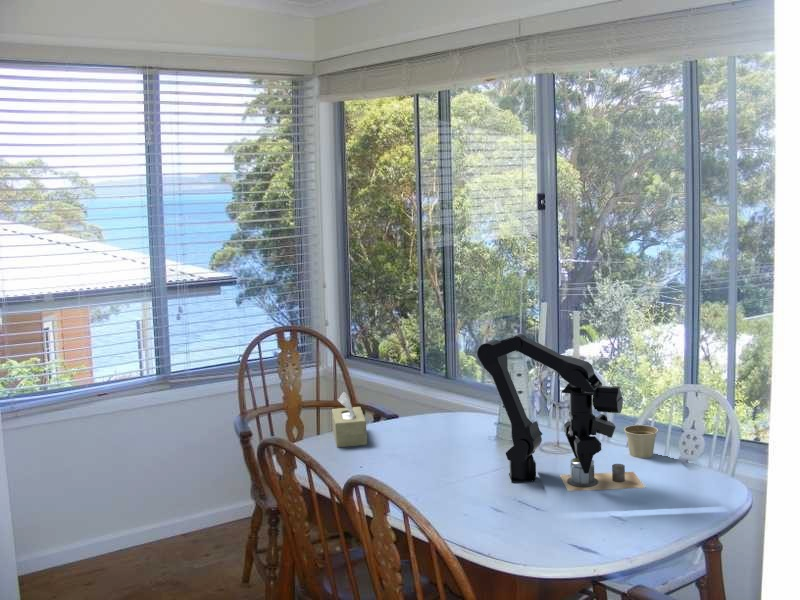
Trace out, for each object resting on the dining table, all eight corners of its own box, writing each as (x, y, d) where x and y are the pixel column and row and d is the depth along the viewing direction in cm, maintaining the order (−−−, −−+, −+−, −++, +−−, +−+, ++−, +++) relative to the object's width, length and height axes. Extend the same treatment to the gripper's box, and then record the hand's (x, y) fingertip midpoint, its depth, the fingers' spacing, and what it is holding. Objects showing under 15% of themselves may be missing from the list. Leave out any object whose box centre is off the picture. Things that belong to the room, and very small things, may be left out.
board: (568, 495, 215) (567, 476, 214) (559, 479, 227) (559, 460, 226) (645, 491, 215) (645, 472, 214) (633, 475, 227) (633, 457, 226)
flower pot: (660, 464, 235) (659, 434, 234) (625, 463, 237) (625, 434, 236) (656, 453, 244) (656, 424, 243) (623, 453, 246) (623, 424, 245)
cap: (573, 485, 218) (572, 462, 217) (569, 477, 224) (568, 455, 223) (596, 484, 218) (595, 461, 217) (591, 476, 224) (591, 454, 223)
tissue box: (333, 431, 283) (330, 386, 281) (361, 429, 285) (359, 384, 283) (337, 448, 265) (334, 399, 263) (367, 445, 266) (364, 397, 264)
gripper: (621, 418, 209) (622, 478, 211) (603, 399, 227) (605, 454, 229) (576, 420, 209) (578, 480, 211) (563, 401, 227) (564, 456, 229)
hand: (582, 467), depth 220 cm, fingers open, 9 cm apart
